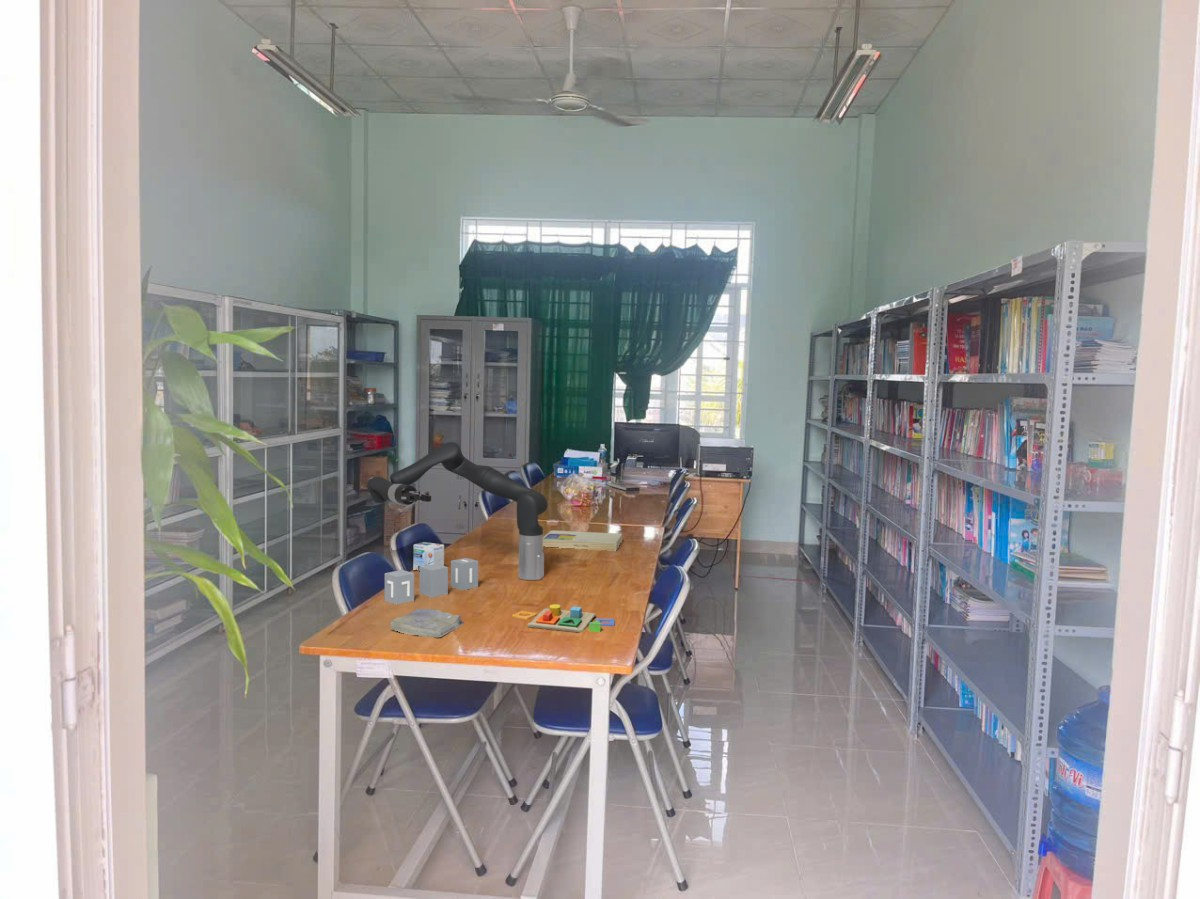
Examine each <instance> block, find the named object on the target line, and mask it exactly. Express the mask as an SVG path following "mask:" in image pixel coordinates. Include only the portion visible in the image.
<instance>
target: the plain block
mask: <svg viewBox="0 0 1200 899" xmlns="http://www.w3.org/2000/svg"><path fill="white" fill-rule="evenodd" d="M420 593H421V594H424V595H426V596H429V597H436V596H441V595H445V594H448V595H449V567H448V566H445V565H444V566H442V565H438V564H433V565H427V566H422V567H420V572H419V594H420ZM445 596H446V595H445ZM441 597H442V596H441ZM436 598H437V597H436Z"/></svg>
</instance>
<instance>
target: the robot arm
mask: <svg viewBox="0 0 1200 899" xmlns="http://www.w3.org/2000/svg"><path fill="white" fill-rule="evenodd" d="M440 464H441V465H442V467H443V468H444V469H445V470H447V471H448V472H450V473H453V474H455V475H458V476H460V477H462V478H465V479H466V480H467V481H469V482H471V483H473V484H474V485H476V486H477V487H479V488H480V489H482V490H484V491H486V492H488V493H489V494H491V495H494V496H496V497H499V498H502V499H503V498H504V499H507V500H511V501H514V502H516V526H517V528H518V579H520V580H523V581H540V580H542V579H543V578H544V577H545V552H543V551H544V548H543V537H544V527H543V526H542V525H541V524H539V516H541V515H542V514H544V513H545V512H546V511H547V509H548V500H547V499H546V497H545V496H544V494H542V493H541V492H539V491H537V490H535V489H532V488H530V487H527V486H525V485H523V484H521V483H519V482H518V481H516V480H514V479H513V478H510V477H509V476H507V475H506V474H504V473H502V472H500V471H499V470H497V469H495V468H494V467H491V466H489V465H482V464H481V465H480V464H476V463H474V462H472V461H470V460H469V459H468V458H466V457H465V455H463V451H462V449H461V447H460V446H459V444H458V443H456V442H454V441H450V442H446V443H443V444H441V445H440V446H438V447H436V448H435V449H433V450H432V451H431V452H429V453H428V454H426V455H425V456H423V457H422V458H420V459H418V460H417V461H415V462H413V463H412V464H410V465H408V466H405V467H404V468H402V469H399V470H397V471H395V472H393V473H391V474H390V475H389V480H390V481H389V480H388V479H386V478H385V477H383V476H373V477H370V478H369V479H368V480H367V482H366V489H367V491H368V493H369V494H370V497H371V498H372V500H373V501H374V502H375V503H377V504H381V503H384V502H386V501H388V502H393V503H396V504H401V505H405V506H410V505H412V504H414V503H416V502H417V503H419V502H426V503H428V502H431V501H432V496H431V495H430V491H425V492H423V491H420V490H417V489H416V488H415V487H414V486H413V485H412V484H414V483H416V482H417V481H419V480H420V479H421V478H422V477H423V476H424V475H425V474H426V473H427V472H428V471H429V470H431V469H432V468H434V466H437V465H440Z"/></svg>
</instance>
